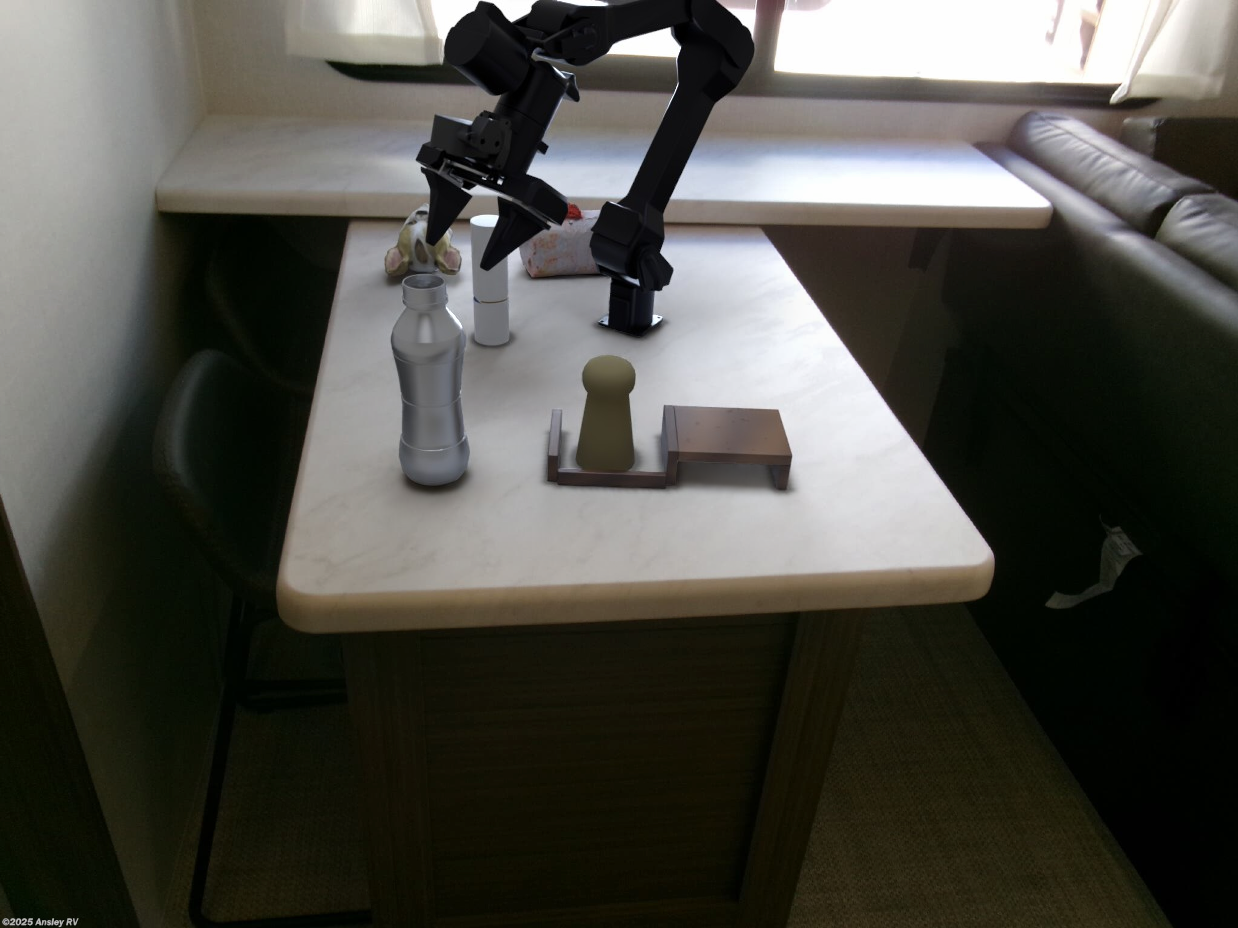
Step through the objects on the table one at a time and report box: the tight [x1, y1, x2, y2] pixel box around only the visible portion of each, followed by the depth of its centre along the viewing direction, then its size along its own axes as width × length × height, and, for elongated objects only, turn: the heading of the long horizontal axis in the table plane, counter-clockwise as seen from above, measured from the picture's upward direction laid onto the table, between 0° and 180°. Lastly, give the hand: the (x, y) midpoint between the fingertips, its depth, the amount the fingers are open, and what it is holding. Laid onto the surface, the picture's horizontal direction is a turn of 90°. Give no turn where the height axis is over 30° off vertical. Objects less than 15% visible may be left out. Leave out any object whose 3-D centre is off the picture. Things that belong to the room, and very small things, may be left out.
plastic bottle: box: [390, 273, 471, 487], centre depth 87 cm, size 6×7×20 cm
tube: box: [469, 214, 510, 346], centre depth 115 cm, size 4×4×15 cm
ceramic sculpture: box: [383, 202, 463, 277], centre depth 135 cm, size 11×9×15 cm
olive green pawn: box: [575, 354, 637, 471], centre depth 93 cm, size 6×6×11 cm
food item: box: [518, 202, 601, 278], centre depth 136 cm, size 14×8×10 cm, turn 104°
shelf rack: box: [546, 404, 793, 490], centre depth 95 cm, size 24×10×4 cm, turn 90°
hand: (455, 256), depth 99 cm, fingers open, 9 cm apart
